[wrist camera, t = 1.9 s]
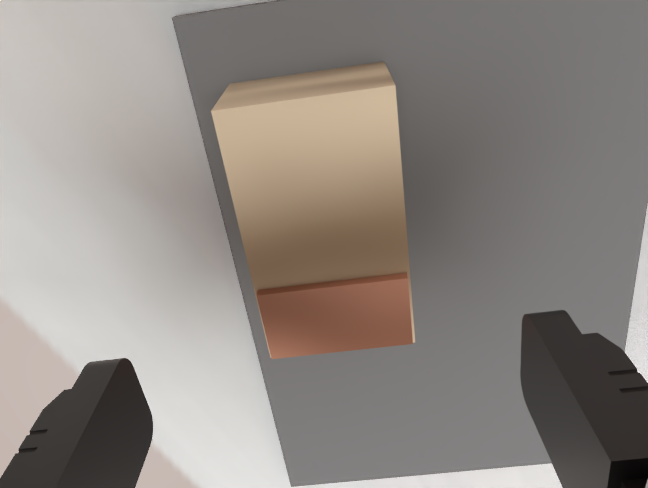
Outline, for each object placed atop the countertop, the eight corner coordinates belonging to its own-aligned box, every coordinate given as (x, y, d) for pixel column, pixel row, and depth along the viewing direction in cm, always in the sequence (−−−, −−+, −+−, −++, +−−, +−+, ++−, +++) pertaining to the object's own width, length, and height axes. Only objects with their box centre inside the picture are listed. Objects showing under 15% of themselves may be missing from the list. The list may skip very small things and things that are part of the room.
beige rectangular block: (229, 83, 16) (209, 114, 13) (384, 61, 16) (396, 88, 13) (277, 303, 20) (269, 364, 17) (403, 289, 20) (416, 348, 17)
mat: (176, 16, 16) (172, 18, 16) (677, -61, 15) (688, -61, 15) (291, 477, 25) (291, 486, 25) (602, 448, 24) (608, 458, 24)
